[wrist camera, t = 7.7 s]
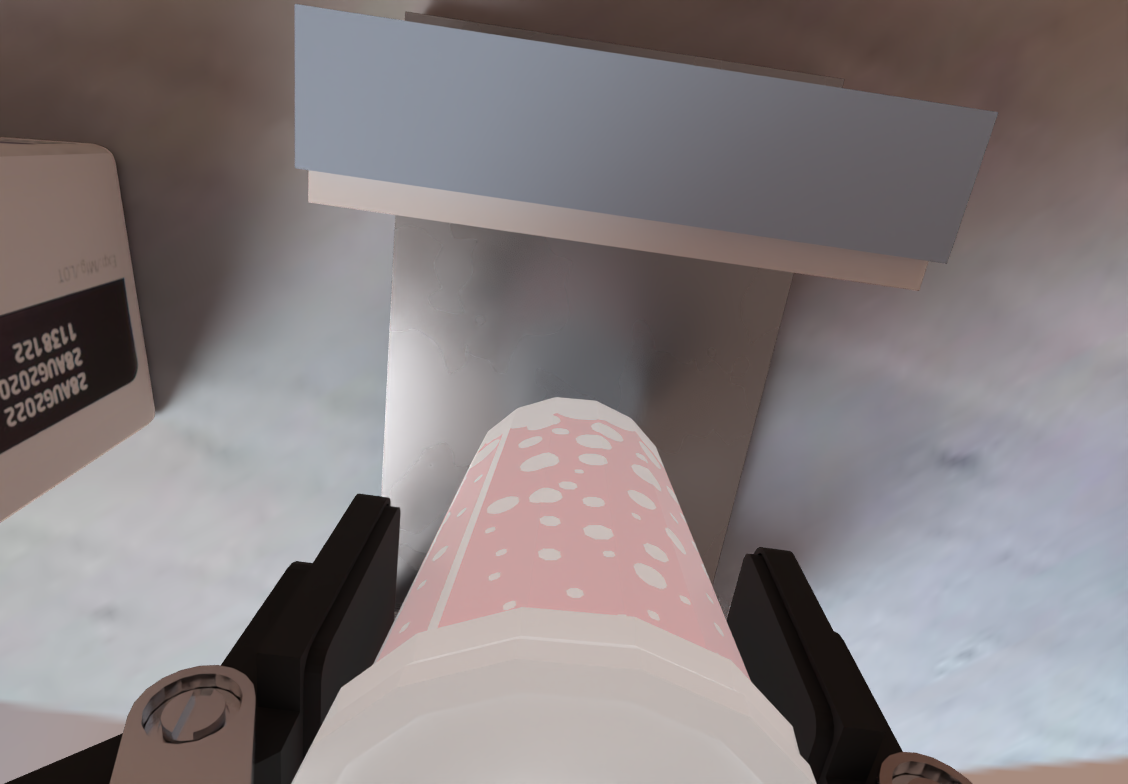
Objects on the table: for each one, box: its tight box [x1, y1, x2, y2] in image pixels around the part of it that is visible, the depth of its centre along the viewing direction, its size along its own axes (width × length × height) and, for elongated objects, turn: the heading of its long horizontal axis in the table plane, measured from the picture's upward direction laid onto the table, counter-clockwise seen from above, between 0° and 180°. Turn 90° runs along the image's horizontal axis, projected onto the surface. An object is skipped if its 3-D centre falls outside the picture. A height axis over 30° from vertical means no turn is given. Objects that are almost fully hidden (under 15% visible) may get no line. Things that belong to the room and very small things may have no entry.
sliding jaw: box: [295, 4, 998, 291], centre depth 12 cm, size 2×9×7 cm, turn 82°
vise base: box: [381, 12, 844, 621], centre depth 15 cm, size 18×10×9 cm, turn 172°
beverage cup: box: [291, 397, 817, 784], centre depth 9 cm, size 6×6×14 cm
